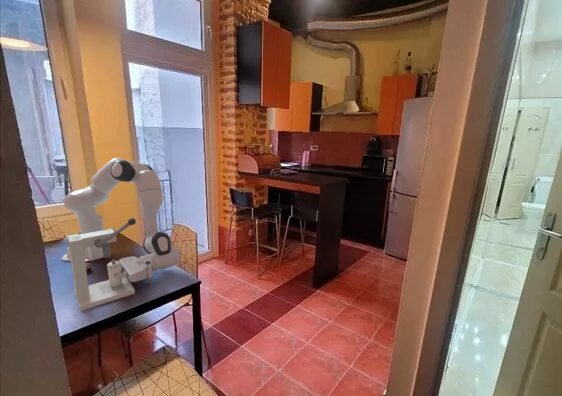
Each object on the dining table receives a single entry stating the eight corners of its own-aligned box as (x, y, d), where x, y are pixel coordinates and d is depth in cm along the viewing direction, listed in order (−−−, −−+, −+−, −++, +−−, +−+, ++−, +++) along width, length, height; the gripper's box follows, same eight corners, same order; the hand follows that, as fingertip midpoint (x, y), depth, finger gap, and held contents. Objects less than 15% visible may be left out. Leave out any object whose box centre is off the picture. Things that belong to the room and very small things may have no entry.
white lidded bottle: (107, 287, 125) (104, 263, 122) (112, 281, 130) (109, 258, 127) (119, 286, 125) (117, 263, 123) (124, 280, 131) (122, 257, 128)
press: (133, 276, 140) (126, 210, 132) (143, 290, 128) (137, 219, 121) (75, 293, 125) (63, 219, 117) (80, 310, 113) (68, 230, 105)
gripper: (138, 251, 142) (106, 258, 133) (152, 266, 127) (117, 275, 118) (139, 262, 143) (108, 271, 134) (153, 279, 128) (119, 289, 119)
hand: (112, 273), depth 126 cm, fingers closed on white lidded bottle, 5 cm apart
